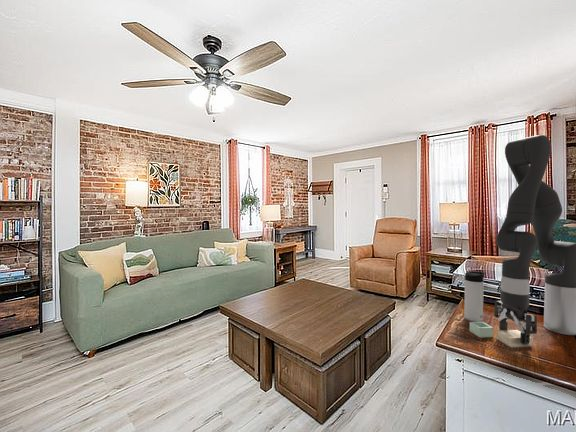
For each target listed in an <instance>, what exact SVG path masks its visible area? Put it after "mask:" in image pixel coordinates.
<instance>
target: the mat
mask: <svg viewBox="0 0 576 432" xmlns="http://www.w3.org/2000/svg"><path fill="white" fill-rule="evenodd" d="M494 339H495V340H496V341H499V342H500V343H502V344H503V345H505V346H507V347H508V348H509V349H521V348H523V349H524V348H525V349H526V348H534V346H533V345H531V346H528V347H510V346H508V345H507V344H505V343H503V342H502V341H500V340H498V339H497V337H496V338H494Z"/></svg>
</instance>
